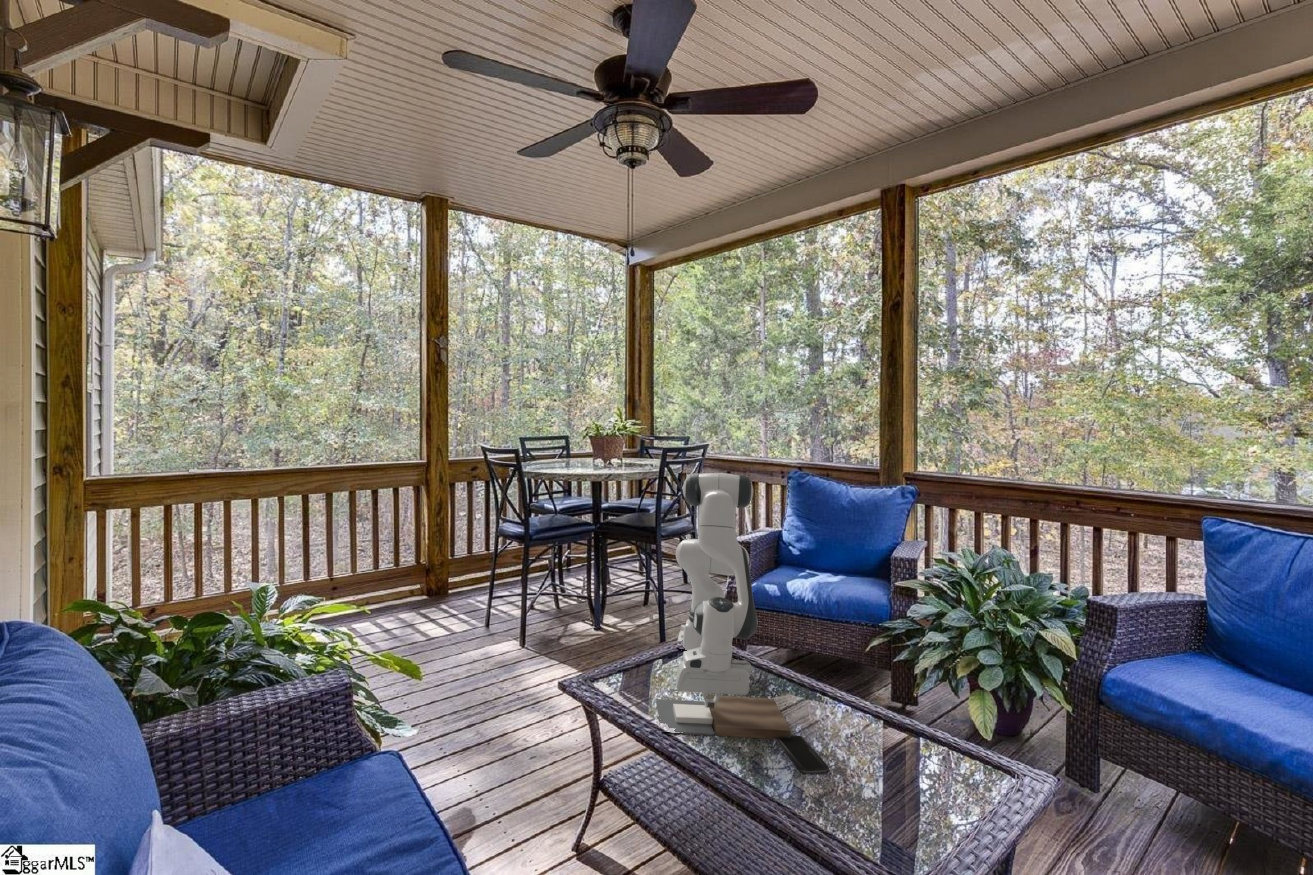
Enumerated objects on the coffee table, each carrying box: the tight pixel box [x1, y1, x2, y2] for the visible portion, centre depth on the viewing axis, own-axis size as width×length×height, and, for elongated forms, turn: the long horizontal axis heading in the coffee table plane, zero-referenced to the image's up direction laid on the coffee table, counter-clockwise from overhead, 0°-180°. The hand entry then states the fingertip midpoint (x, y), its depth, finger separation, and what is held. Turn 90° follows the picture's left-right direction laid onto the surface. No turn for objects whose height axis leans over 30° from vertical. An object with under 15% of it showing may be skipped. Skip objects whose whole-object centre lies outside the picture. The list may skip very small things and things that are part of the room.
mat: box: [655, 698, 715, 737], centre depth 167 cm, size 17×14×1 cm
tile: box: [673, 704, 713, 725], centre depth 167 cm, size 7×10×2 cm
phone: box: [775, 735, 830, 775], centre depth 154 cm, size 8×1×15 cm
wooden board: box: [706, 694, 792, 740], centre depth 169 cm, size 17×20×2 cm
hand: (710, 707), depth 168 cm, fingers closed
